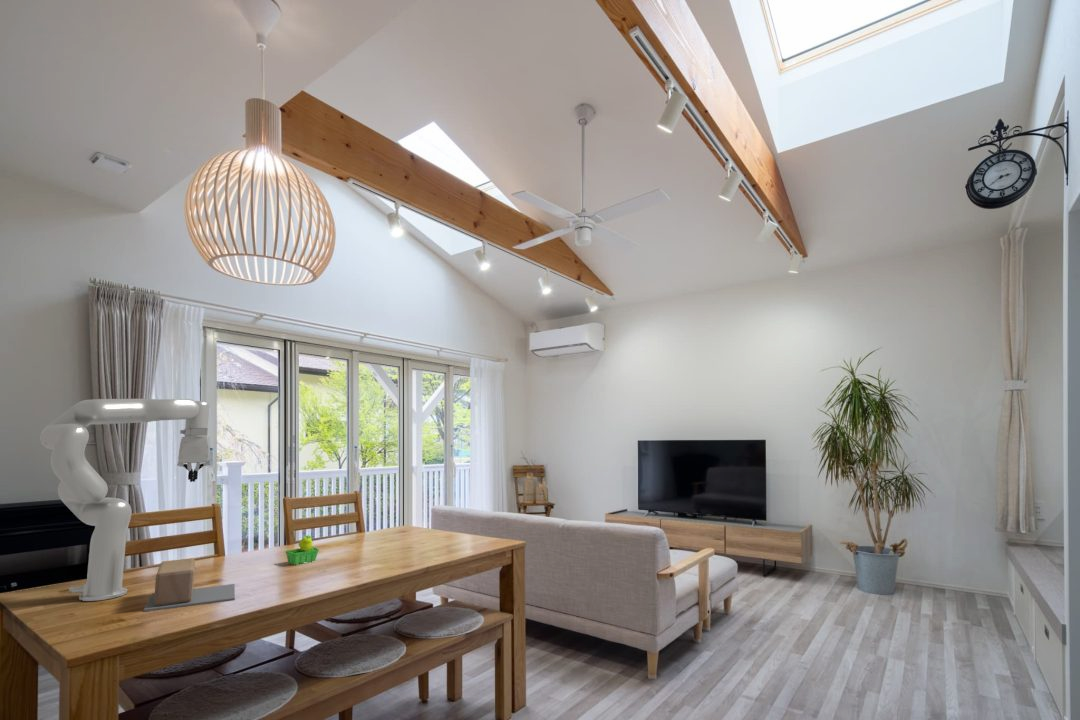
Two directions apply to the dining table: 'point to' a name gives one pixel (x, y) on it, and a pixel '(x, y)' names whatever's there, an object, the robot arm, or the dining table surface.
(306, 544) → the fruit basket
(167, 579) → the wooden block
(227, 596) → the mat
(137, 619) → the dining table surface
